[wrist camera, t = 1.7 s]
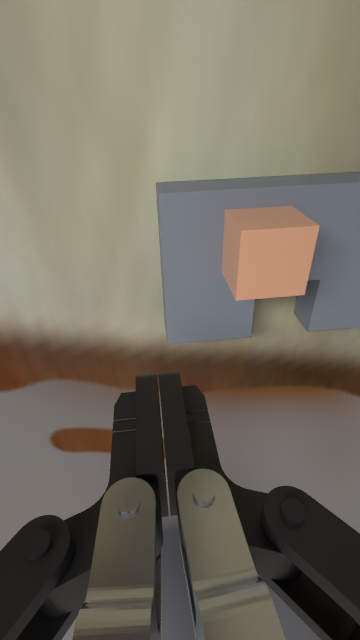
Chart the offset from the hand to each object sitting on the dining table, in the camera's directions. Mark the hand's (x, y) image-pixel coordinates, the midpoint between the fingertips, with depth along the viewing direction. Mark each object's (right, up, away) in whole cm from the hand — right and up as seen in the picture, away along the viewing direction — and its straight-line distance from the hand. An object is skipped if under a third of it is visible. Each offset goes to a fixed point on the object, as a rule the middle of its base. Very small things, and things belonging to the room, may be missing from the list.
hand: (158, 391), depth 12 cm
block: (+6, +8, +11) cm, 15 cm away
